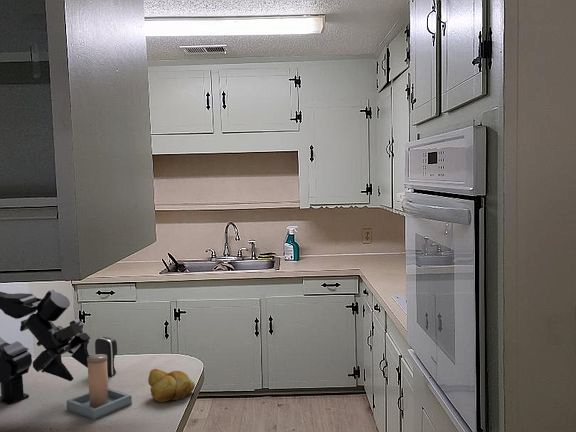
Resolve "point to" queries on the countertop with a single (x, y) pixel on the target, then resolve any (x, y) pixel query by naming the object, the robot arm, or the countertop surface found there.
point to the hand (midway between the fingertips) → (82, 374)
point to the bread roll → (169, 385)
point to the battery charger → (107, 352)
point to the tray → (115, 403)
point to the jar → (98, 380)
